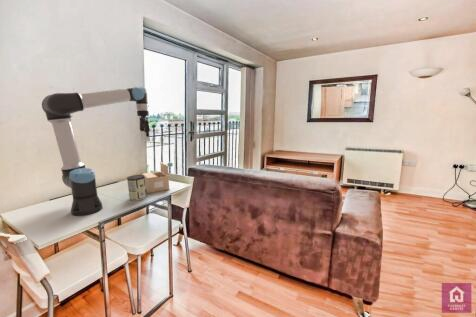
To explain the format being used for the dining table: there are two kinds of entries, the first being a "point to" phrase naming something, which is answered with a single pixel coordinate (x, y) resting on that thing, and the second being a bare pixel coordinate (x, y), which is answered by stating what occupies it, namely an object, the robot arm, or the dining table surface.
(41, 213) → the dining table surface
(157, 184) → the carton
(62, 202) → the dining table surface
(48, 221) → the dining table surface
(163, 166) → the flap
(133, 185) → the coffee can
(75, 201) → the robot arm
